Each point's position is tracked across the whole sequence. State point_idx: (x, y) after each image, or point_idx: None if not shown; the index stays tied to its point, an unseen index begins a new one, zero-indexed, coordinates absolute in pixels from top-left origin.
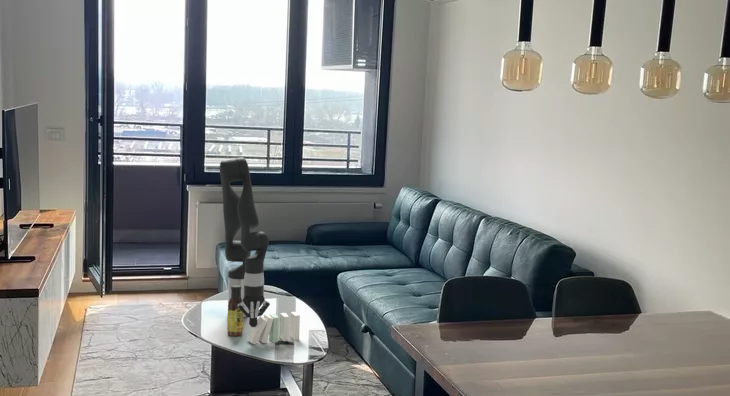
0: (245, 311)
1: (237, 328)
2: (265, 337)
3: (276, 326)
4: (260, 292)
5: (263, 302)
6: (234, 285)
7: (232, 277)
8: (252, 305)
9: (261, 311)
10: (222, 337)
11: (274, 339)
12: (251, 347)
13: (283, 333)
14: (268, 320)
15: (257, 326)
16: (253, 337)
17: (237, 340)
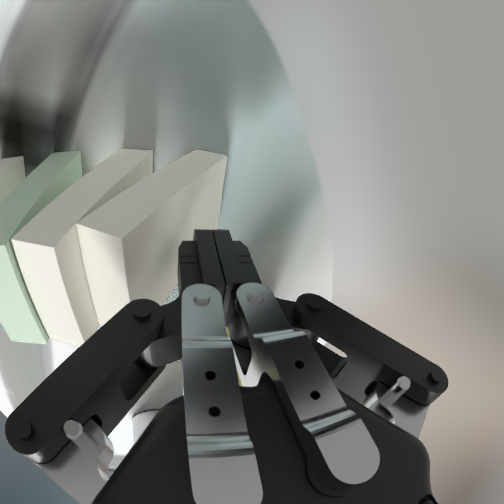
0: (361, 342)
1: None
2: (123, 161)
3: (18, 197)
4: None
5: (103, 475)
6: None
7: None
8: (325, 424)
9: (133, 346)
10: (296, 294)
11: (67, 157)
12: (239, 114)
13: (2, 180)
14: (64, 230)
15: (174, 234)
16: (213, 171)
17: (258, 245)
